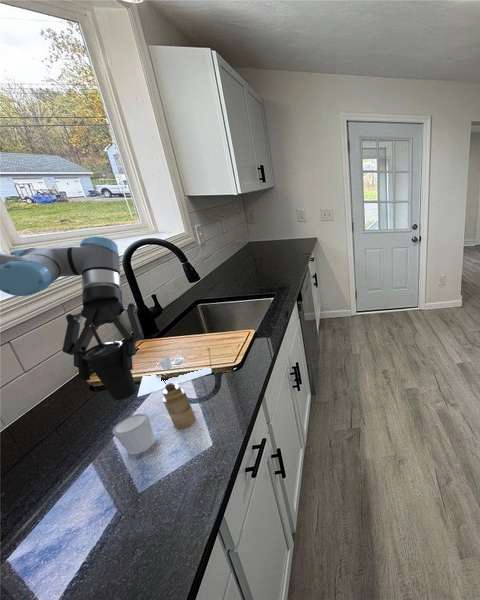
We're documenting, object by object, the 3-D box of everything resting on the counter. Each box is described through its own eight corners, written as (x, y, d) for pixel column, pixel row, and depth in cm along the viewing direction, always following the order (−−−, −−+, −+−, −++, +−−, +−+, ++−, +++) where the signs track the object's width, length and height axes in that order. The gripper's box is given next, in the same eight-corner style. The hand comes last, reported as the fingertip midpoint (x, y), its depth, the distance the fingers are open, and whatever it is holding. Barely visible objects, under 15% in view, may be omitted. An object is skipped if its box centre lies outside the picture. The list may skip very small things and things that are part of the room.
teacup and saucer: (185, 359, 112) (181, 349, 111) (184, 370, 106) (180, 360, 105) (155, 368, 108) (151, 358, 107) (153, 379, 102) (148, 369, 100)
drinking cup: (141, 380, 86) (111, 315, 78) (145, 393, 81) (113, 324, 73) (105, 394, 81) (69, 326, 74) (107, 408, 76) (68, 337, 68)
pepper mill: (172, 423, 83) (155, 385, 78) (192, 413, 86) (177, 375, 81) (177, 432, 80) (159, 392, 75) (198, 421, 83) (182, 382, 78)
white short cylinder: (144, 456, 74) (133, 434, 71) (116, 457, 74) (104, 435, 71) (165, 433, 80) (155, 412, 77) (139, 434, 80) (128, 413, 77)
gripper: (155, 289, 89) (163, 364, 82) (60, 305, 82) (61, 390, 74) (143, 276, 83) (151, 357, 76) (39, 292, 75) (38, 384, 68)
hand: (106, 373), depth 75 cm, fingers closed on drinking cup, 8 cm apart
